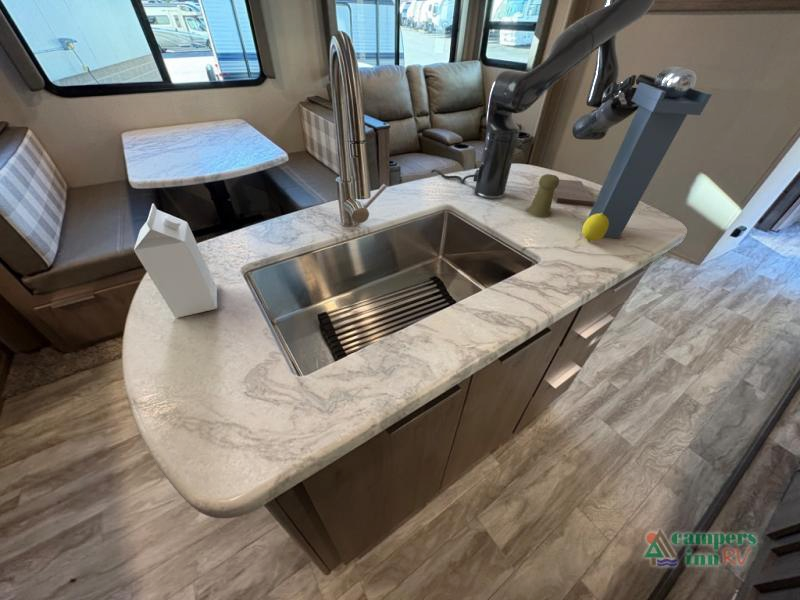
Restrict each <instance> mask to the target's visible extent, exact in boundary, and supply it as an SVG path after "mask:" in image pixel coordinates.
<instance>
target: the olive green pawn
mask: <svg viewBox="0 0 800 600" xmlns="http://www.w3.org/2000/svg"><path fill="white" fill-rule="evenodd" d="M559 179H560V178H559V177H558V176H557V175H555V174H551V173H545V174H542V175H541V176H540V178H539V181H538V185H539V187H538V190H537V191H536V194H535V196H534V197H533V200H532V202H531V204H530V206H529V208H528V213H529V214H530V215H532V216H534V217H537V218H546V217H548V216H550V213H551V208H552V203H553V200H554V199H553V198H554V196H553V194H554V189H555V188H557V186H558V184H559Z"/></svg>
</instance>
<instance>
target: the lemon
mask: <svg viewBox="0 0 800 600" xmlns="http://www.w3.org/2000/svg"><path fill="white" fill-rule="evenodd" d="M588 217H589V216H588ZM588 217H587V219H586V220H585V221H584V223H583V225H582V228H581V234H582V236H583V238H584V239H586V241H587V242H595V241H599V240H601V239H602V238H604V237H603V236H604V235H605V233H606V232H607V229H608V226H609V220H608V218H607V217H606V216H605V215H604V214H603V213H600V214H594V215H592V216H590V217H589V218H588Z"/></svg>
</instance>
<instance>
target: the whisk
mask: <svg viewBox="0 0 800 600" xmlns="http://www.w3.org/2000/svg"><path fill="white" fill-rule="evenodd" d="M639 83H645V84H647V85H650V86H653V87H655V88H658V89H661V90H663V91H666V94H665V96H666V97H668V98H671V99H677V98H681V97H683V96H685V95H687V94H688V93H689V92H690V91H691V90H692V89H694V87H695V85H696V83H697V74H696V73H695V71H693V70H691V69H689V68H685V67H680V66H670V67H666V68H665V69H663V70H661V72H659V73H658V75H657V76H653V75H651V74H647V73H641V74H639V75H637V77H636V80H635V84H636V86H638V85H639Z"/></svg>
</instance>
